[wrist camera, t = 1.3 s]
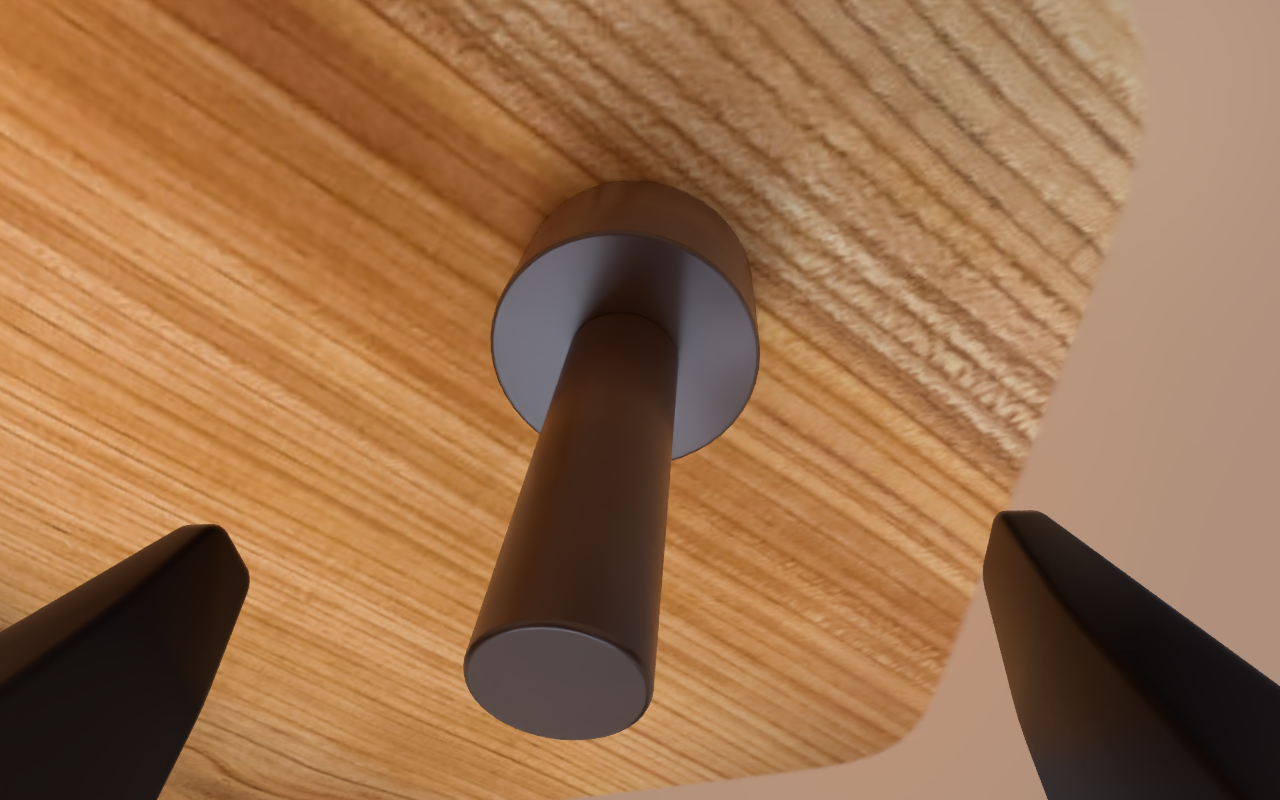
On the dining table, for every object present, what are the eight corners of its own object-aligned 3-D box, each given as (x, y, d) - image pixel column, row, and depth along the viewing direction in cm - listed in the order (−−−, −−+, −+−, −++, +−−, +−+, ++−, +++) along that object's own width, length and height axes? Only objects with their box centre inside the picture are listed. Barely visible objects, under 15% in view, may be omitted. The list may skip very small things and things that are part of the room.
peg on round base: (802, 286, 13) (903, 693, 6) (651, 426, 15) (599, 851, 8) (617, 125, 12) (484, 412, 5) (479, 303, 14) (248, 683, 7)
